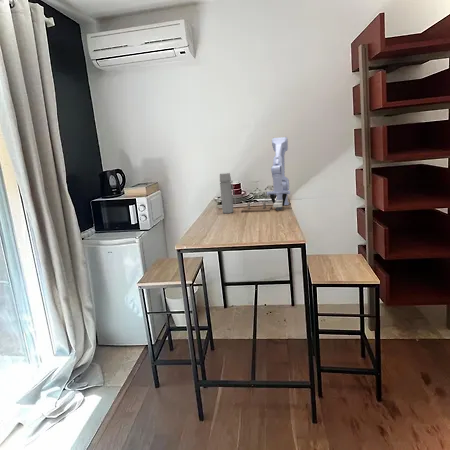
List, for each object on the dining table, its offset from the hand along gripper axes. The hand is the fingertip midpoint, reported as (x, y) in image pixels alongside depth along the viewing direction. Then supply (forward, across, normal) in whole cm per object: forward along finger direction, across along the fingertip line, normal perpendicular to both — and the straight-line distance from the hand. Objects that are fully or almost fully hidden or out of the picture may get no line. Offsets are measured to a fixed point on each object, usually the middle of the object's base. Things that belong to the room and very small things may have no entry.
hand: (279, 206), depth 241 cm
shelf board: (-1, 0, 0) cm, 1 cm away
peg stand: (+2, -14, -2) cm, 14 cm away
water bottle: (+2, -31, -6) cm, 32 cm away
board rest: (+2, 0, 0) cm, 2 cm away
